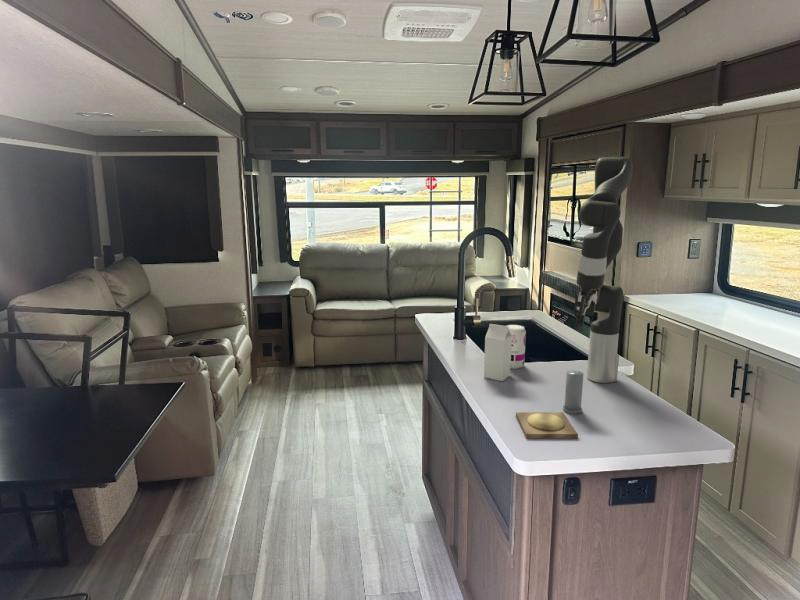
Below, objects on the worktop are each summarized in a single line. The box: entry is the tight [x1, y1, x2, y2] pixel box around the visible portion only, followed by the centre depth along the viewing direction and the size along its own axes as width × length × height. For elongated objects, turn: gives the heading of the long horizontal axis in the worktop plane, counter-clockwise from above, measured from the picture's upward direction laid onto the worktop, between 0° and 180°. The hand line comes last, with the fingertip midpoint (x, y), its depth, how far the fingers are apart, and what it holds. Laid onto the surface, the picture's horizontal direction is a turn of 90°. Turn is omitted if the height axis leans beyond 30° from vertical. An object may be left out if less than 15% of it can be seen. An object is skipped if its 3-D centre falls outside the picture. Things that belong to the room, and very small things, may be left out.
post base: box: [515, 411, 579, 439], centre depth 154 cm, size 14×14×2 cm
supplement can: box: [506, 324, 527, 370], centre depth 203 cm, size 8×8×15 cm
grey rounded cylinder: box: [562, 369, 584, 415], centre depth 164 cm, size 5×5×12 cm
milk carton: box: [483, 323, 512, 382], centre depth 191 cm, size 7×7×19 cm
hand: (584, 320), depth 164 cm, fingers open, 8 cm apart
